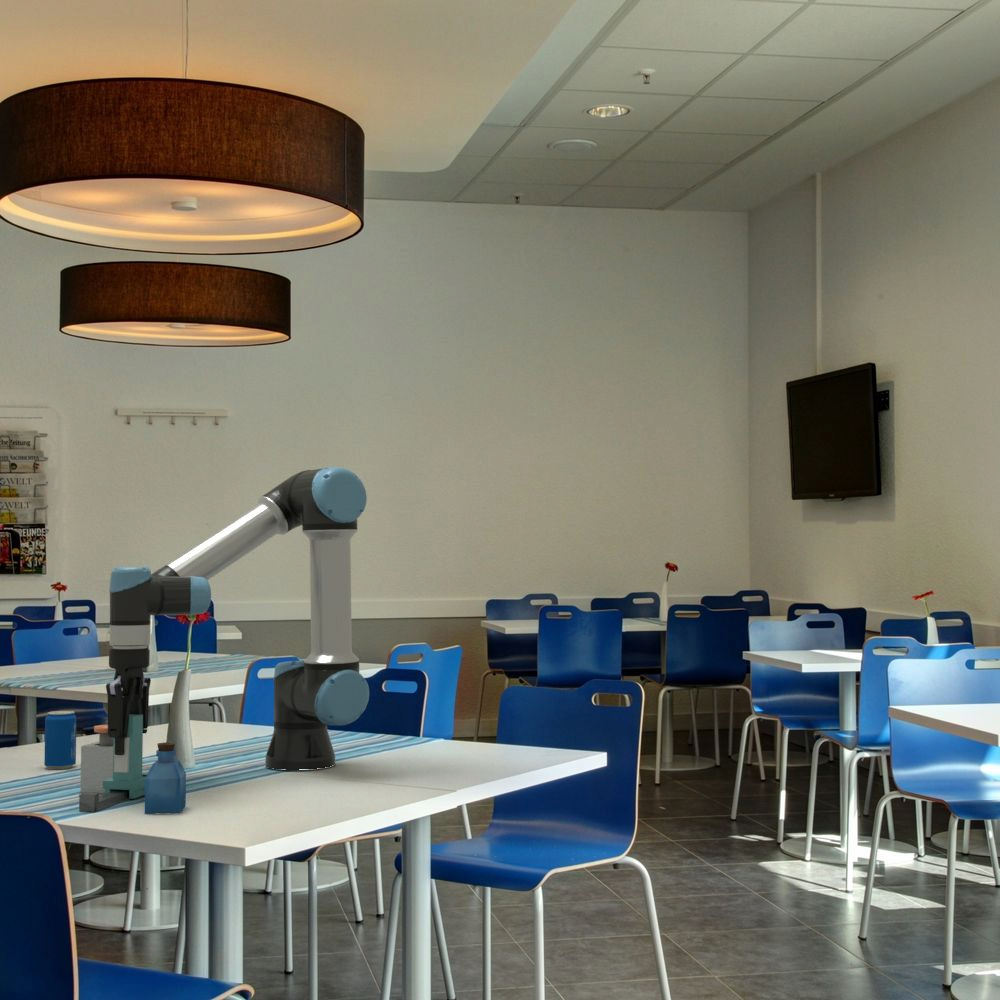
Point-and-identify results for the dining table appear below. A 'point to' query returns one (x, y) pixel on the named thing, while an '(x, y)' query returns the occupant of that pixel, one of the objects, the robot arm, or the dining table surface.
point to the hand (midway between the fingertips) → (127, 769)
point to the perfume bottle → (165, 783)
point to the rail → (102, 799)
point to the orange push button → (103, 735)
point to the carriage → (130, 762)
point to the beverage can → (60, 740)
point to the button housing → (95, 767)
